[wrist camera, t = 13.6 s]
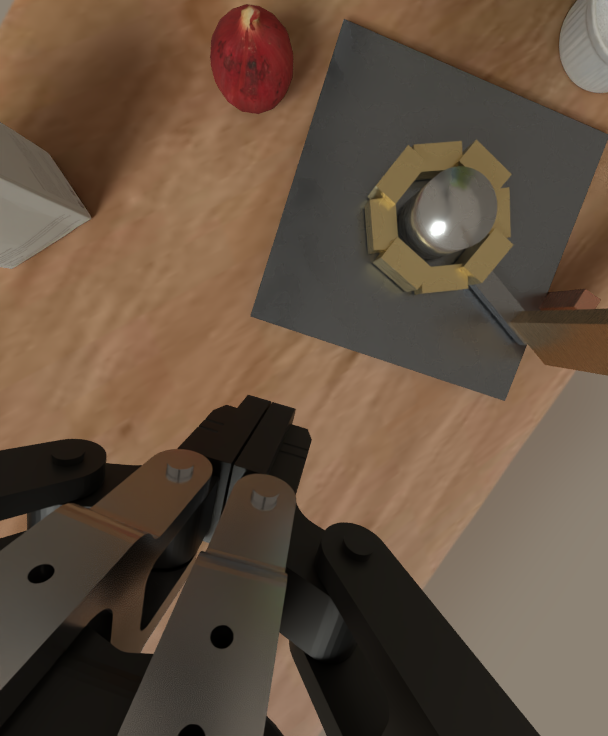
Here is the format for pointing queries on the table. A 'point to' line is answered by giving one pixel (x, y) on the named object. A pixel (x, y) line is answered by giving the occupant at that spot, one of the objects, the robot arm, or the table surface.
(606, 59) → the ramekin
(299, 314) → the hub base
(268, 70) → the onion
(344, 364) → the table surface
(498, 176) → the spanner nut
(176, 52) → the table surface
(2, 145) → the skincare box
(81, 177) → the table surface
